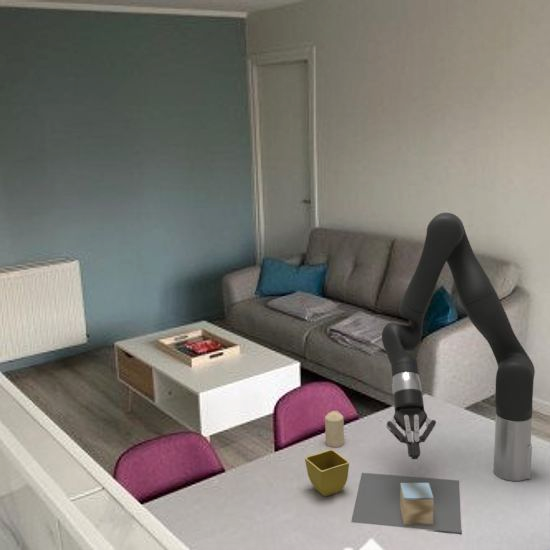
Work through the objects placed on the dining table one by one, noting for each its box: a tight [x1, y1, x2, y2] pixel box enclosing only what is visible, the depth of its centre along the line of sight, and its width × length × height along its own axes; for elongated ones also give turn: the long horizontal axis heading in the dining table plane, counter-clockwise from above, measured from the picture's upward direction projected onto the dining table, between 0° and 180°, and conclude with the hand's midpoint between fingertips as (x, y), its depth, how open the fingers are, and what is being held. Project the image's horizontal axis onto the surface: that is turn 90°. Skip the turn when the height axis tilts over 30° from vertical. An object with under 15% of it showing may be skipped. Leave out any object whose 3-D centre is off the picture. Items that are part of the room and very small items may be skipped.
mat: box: [350, 472, 462, 535], centre depth 177 cm, size 26×24×1 cm
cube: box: [400, 483, 433, 524], centre depth 170 cm, size 7×7×7 cm
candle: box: [324, 410, 345, 448], centre depth 209 cm, size 6×6×10 cm
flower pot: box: [304, 449, 350, 497], centre depth 183 cm, size 9×9×9 cm
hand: (414, 458), depth 173 cm, fingers closed
